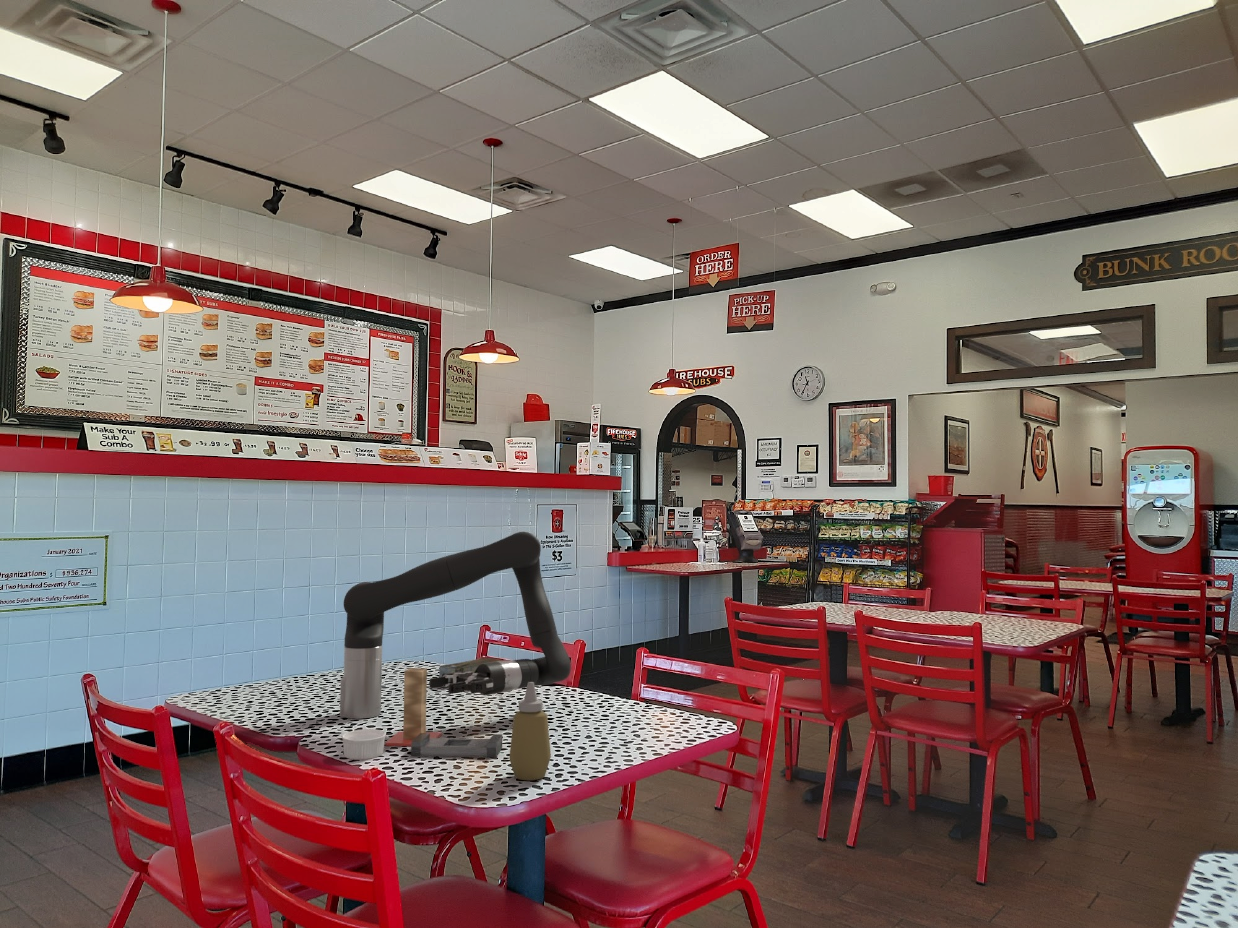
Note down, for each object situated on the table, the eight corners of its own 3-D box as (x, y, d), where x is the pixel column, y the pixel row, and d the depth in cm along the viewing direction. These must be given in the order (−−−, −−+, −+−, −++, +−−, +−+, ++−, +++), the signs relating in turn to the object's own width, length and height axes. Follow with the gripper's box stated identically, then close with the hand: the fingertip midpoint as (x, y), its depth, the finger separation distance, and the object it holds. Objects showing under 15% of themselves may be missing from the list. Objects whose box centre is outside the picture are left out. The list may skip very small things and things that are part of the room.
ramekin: (391, 756, 178) (391, 735, 178) (348, 763, 173) (348, 741, 173) (378, 747, 185) (378, 726, 185) (336, 753, 180) (337, 732, 181)
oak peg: (403, 739, 189) (404, 671, 190) (408, 734, 193) (409, 668, 194) (420, 739, 189) (422, 671, 189) (425, 735, 193) (426, 668, 193)
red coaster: (384, 745, 186) (385, 742, 186) (398, 733, 196) (398, 731, 196) (430, 746, 185) (430, 743, 185) (441, 734, 195) (441, 732, 195)
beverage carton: (437, 685, 253) (437, 663, 254) (486, 676, 268) (486, 655, 268) (454, 688, 248) (455, 666, 248) (503, 679, 263) (503, 658, 263)
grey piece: (411, 755, 178) (411, 741, 178) (420, 746, 185) (420, 732, 185) (496, 757, 177) (496, 742, 177) (502, 748, 184) (502, 734, 184)
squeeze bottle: (544, 784, 160) (544, 687, 161) (503, 781, 161) (504, 685, 162) (555, 771, 167) (556, 679, 169) (516, 769, 169) (517, 677, 170)
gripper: (482, 657, 212) (424, 665, 201) (515, 665, 201) (455, 673, 190) (482, 688, 211) (423, 697, 200) (515, 697, 201) (455, 707, 190)
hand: (439, 686), depth 195 cm, fingers open, 8 cm apart
